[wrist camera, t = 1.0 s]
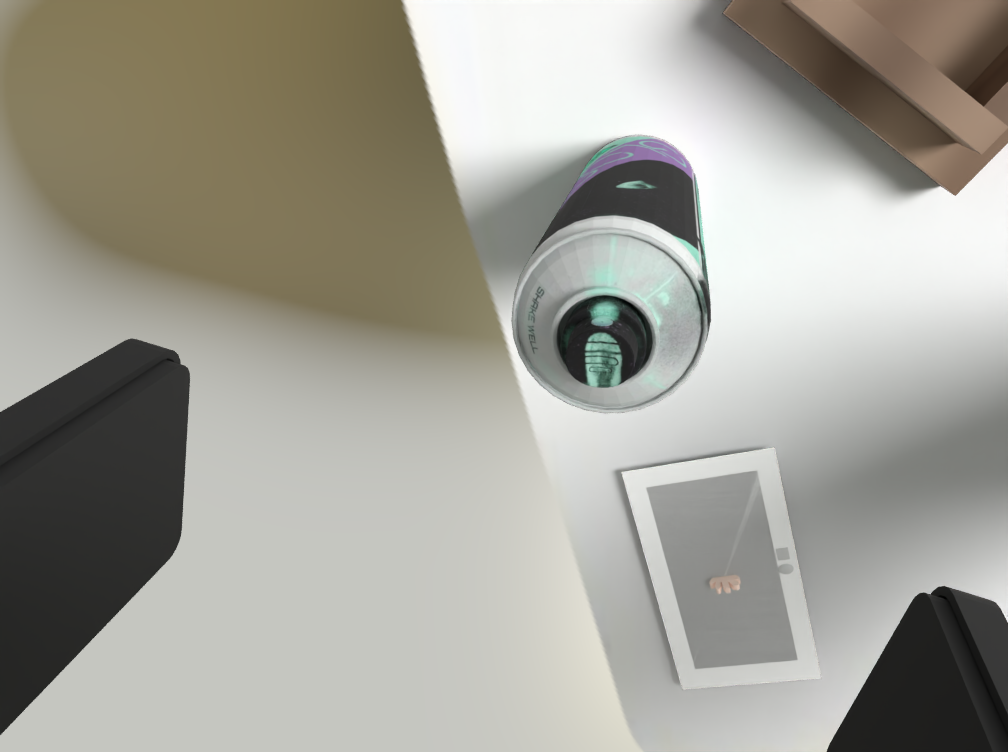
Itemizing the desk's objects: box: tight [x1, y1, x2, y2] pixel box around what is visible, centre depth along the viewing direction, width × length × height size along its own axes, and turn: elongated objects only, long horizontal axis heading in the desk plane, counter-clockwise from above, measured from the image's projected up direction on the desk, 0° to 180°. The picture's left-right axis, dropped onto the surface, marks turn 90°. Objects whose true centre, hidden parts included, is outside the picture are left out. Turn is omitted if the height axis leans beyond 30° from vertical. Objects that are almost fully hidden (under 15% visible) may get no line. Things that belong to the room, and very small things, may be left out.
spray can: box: [512, 135, 711, 413], centre depth 29 cm, size 6×6×20 cm
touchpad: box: [621, 447, 822, 690], centre depth 44 cm, size 8×15×2 cm, turn 18°
